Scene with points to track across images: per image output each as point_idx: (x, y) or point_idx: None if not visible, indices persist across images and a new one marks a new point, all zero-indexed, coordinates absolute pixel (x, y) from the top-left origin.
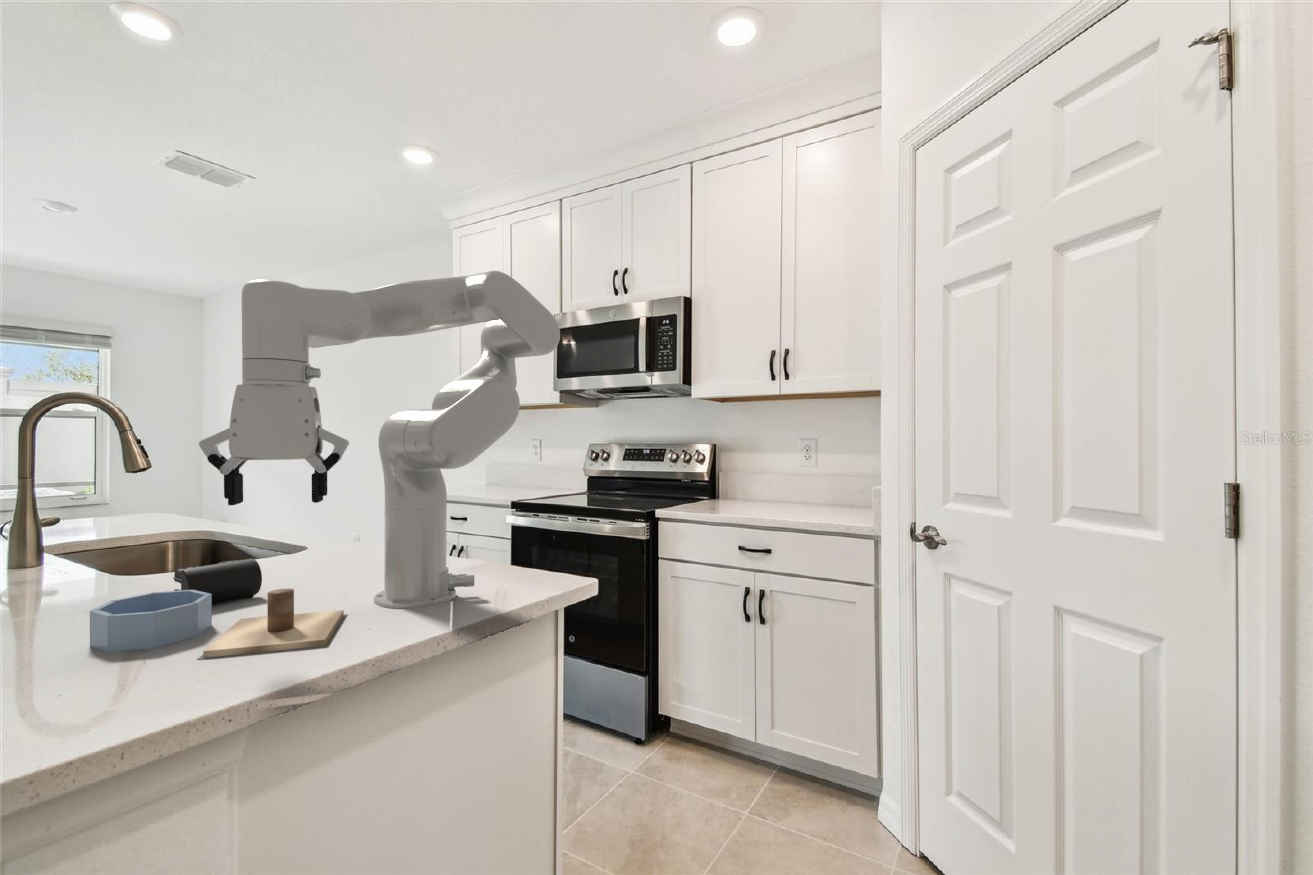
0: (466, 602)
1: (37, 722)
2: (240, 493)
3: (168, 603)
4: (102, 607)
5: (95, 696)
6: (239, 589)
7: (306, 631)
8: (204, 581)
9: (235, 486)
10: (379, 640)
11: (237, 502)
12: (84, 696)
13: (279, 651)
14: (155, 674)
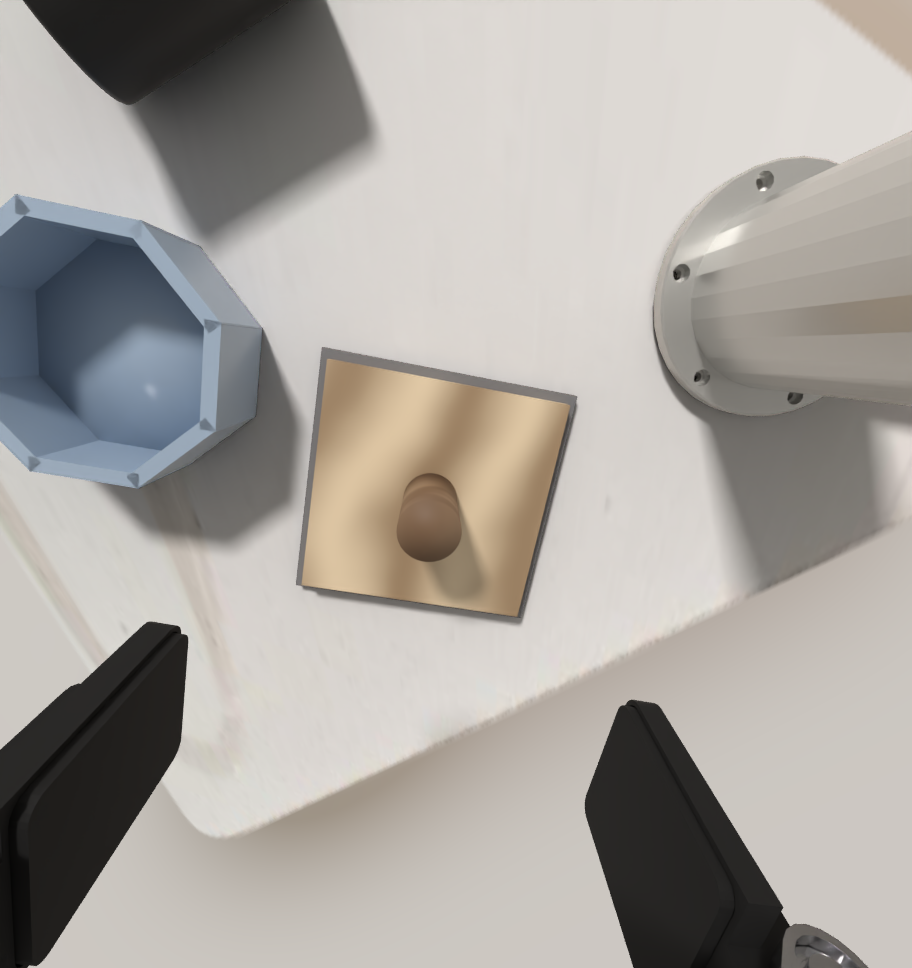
0: None
1: None
2: (150, 717)
3: (98, 234)
4: None
5: None
6: (257, 20)
7: (483, 547)
8: (127, 45)
9: (106, 851)
10: (613, 590)
11: (179, 720)
12: None
13: (436, 605)
14: (241, 597)
